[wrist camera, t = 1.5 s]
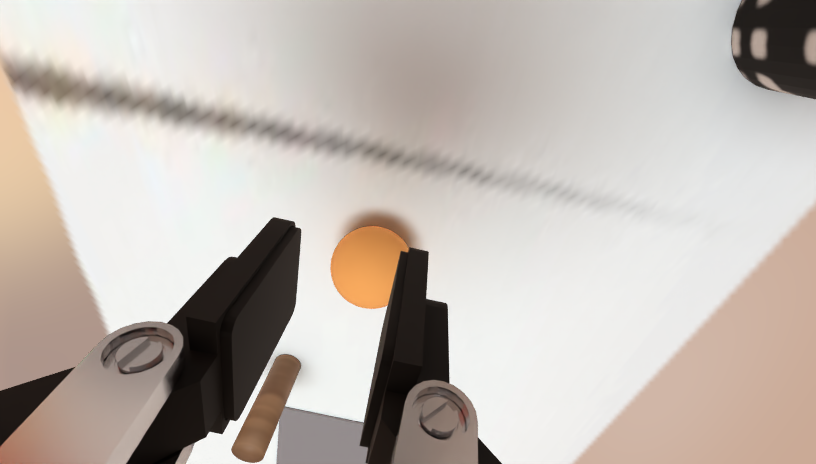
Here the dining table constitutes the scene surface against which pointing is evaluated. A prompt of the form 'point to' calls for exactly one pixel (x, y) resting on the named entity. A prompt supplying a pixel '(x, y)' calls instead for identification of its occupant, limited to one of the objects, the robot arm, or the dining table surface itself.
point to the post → (266, 410)
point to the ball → (367, 265)
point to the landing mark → (318, 439)
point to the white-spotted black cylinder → (777, 45)
